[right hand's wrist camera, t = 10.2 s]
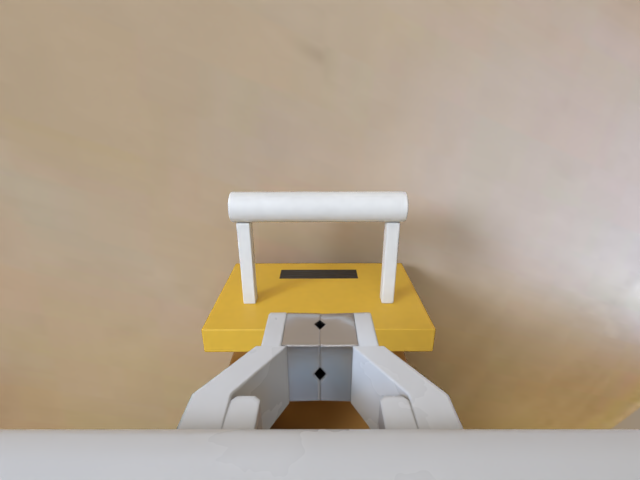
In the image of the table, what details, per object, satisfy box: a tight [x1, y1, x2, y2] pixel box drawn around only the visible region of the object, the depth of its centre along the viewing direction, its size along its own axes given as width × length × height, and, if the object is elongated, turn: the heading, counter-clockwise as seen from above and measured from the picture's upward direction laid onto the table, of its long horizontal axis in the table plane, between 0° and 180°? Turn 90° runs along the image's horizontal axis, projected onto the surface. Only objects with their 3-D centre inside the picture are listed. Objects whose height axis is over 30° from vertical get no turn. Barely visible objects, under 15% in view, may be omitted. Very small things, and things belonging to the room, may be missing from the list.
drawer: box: [202, 192, 436, 429], centre depth 20 cm, size 21×10×7 cm, turn 0°
